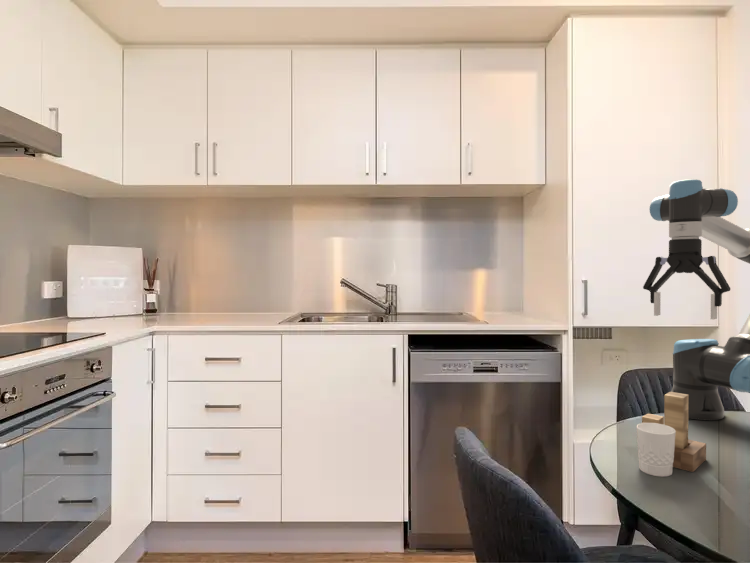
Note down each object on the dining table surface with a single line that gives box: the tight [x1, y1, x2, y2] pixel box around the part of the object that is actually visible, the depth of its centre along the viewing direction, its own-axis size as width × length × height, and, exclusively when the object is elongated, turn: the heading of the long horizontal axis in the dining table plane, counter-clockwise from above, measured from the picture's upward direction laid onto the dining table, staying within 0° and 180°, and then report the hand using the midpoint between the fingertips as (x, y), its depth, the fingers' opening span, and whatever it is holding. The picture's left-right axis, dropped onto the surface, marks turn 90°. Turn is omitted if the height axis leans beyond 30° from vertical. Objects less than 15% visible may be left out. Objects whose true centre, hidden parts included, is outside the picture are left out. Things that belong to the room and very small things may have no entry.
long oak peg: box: [663, 391, 689, 449], centre depth 122 cm, size 4×4×16 cm
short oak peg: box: [641, 413, 664, 425], centre depth 134 cm, size 4×4×7 cm
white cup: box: [636, 422, 676, 477], centre depth 117 cm, size 8×8×10 cm
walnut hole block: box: [673, 438, 707, 473], centre depth 122 cm, size 10×10×4 cm
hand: (684, 317), depth 137 cm, fingers open, 13 cm apart
